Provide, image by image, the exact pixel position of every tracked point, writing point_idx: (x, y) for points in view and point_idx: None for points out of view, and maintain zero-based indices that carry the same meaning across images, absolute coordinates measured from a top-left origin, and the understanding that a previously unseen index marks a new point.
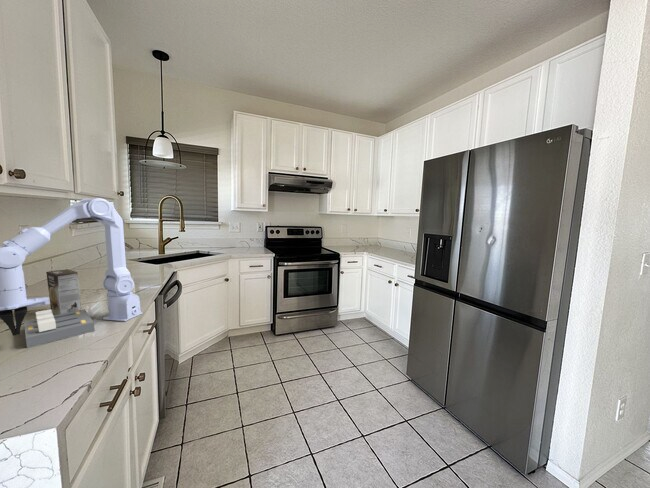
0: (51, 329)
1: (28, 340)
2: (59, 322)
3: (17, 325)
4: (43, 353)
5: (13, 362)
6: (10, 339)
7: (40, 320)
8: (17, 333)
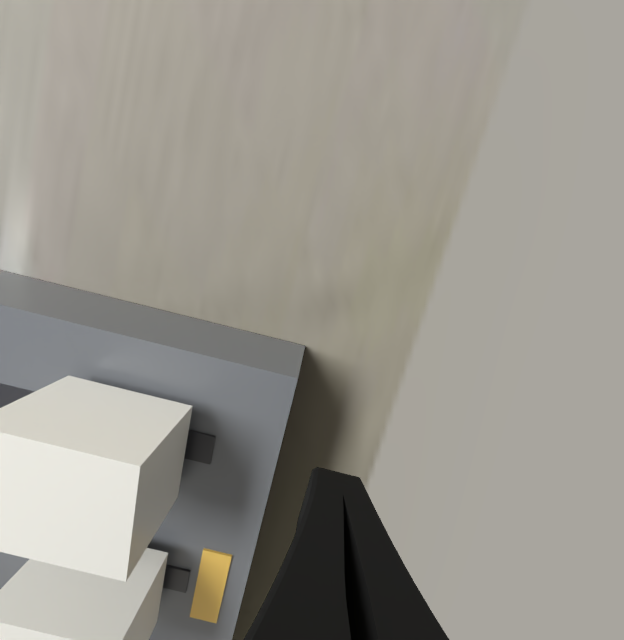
0: None
1: (287, 362)
2: None
3: (328, 562)
4: (272, 116)
5: (439, 138)
6: None
7: (107, 614)
8: (331, 476)
